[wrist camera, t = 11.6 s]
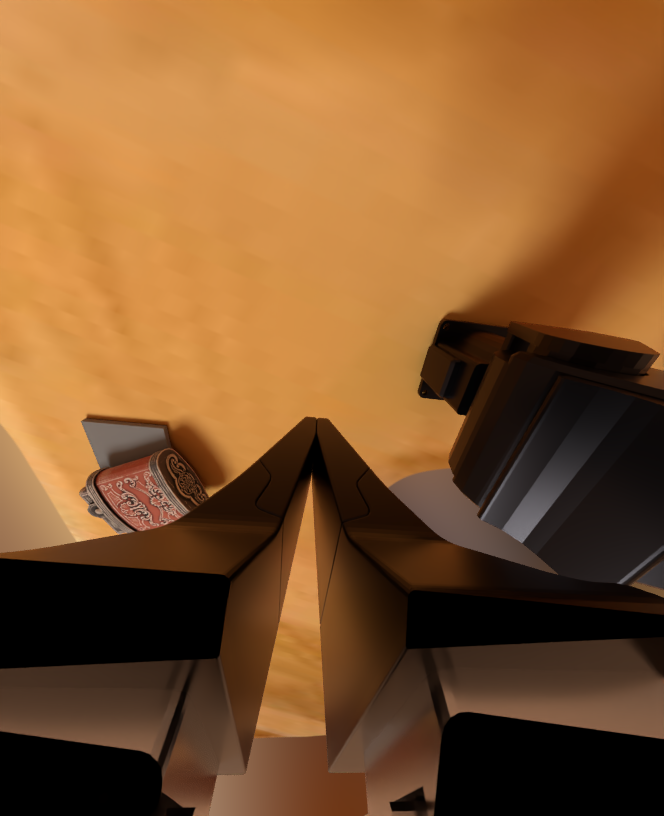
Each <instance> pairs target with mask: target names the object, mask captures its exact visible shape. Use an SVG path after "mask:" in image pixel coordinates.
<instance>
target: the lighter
mask: <svg viewBox="0 0 664 816" xmlns="http://www.w3.org/2000/svg"><path fill="white" fill-rule="evenodd" d="M79 495H80V496H81V497H82V498H83V499H84V500H85V501H86V502H87V503H88V504H89V506H88V507H89V508H88V512H89V513H90V514H91V515H93V516H95V517H99V518H103V519H104V520H105V521H106V522H107V523H108V524H109V525H110V526H111V527H112V528H113V529H114V530H115V531H116V532H117V533H118V534H122V533H131V532H137V531H143V530H148V529H153V528H158V527H161V526H164V525H167V524H169V523H171V522H173V521H175V520H177V519H179V518H181V517H182V516H184V515H185V514H187V513H188V512H190V511H191V510H192V509H194V508H195V507H197V506H198V505H199V504H201V503H202V502H204V501H205V500H207V499H208V498H209V497H208V495H207V492H206V490H205V488H204V486H203V485H202V483H201V481H200V480H199V478H198V477H197V475H196V473H195V472H194V471H193V470H192V468H191V467H190V466H189V465H188V463H187V462H186V461H185V460H184V459H183V458H182V457H181V456H180V455H179V454H178V453H177V452H176V451H175V450H173V449H170V448H168V449H164V450H160V451H157V452H155V453H154V454H153V455H151V456H148V457H144V458H141V459H138V460H135V461H131V462H128V463H125V464H122V465H119V466H115V467H107V468H103V469H99V470H97V471H95V472H93V473H92V474H91V475H90V476H89V477H88V479H87V481H86V486H85V487H84V488H82V489H81V490H80V492H79Z"/></svg>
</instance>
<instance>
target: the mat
mask: <svg viewBox="0 0 664 816" xmlns="http://www.w3.org/2000/svg"><path fill="white" fill-rule="evenodd" d="M81 423H82V425H83V427H84V430H85V432H86V435H87V437H88V440H89V442H90V444H91V447H92V449H93V452H94V454H95V457H96V459H97V461H98V464H99V466H100V469H103V468H107V467H115V466H119V465H122V464H125V463H128V462H131V461H135V460H138V459H141V458H144V457H148V456H151V455H153V454H154V453H155V452H157V451H160V450H164V449H168V448H170V449H172V448H171V444H170V439H169V435H168V430H167V426H165V425H154V424H142V423H131V422H120V421H109V420H98V419H84V420H82V421H81Z"/></svg>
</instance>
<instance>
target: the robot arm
mask: <svg viewBox="0 0 664 816" xmlns="http://www.w3.org/2000/svg"><path fill="white" fill-rule="evenodd" d="M445 324H448V327H447V328H446V329H443V327H444V325H445ZM659 355H660V353H658V352H656V351H655V350H653V349H651V348H649V347H648V346H646V345H644V344H643V343H641V342H639V341H635V340H630V339H624V338H619V337H614V336H609V335H604V334H599V333H594V332H588V331H581V330H574V329H566V328H559V327H552V326H544V325H537V324H529V323H522V322H514V321H511V322H510V324H509V327H502V326H494V325H487V324H479V323H472V322H464V321H457V320H449V319H444V320H442V321H441V322H440V323H439V325H438V328H437V331H436V334H435V337H434V341H433V344H432V345H431V346H430V347H429V349H428V352H427V355H426V358H425V361H424V365H423V368H422V371H421V374H420V376H421V377H422V379H421V382H420V385H419V388H418V394H419V396H420V397H422V398H429V399H438V400H445V401H446V402H447V403H448V404H449V405H450V406H451V407H452V408H453V409H454V410H455V411H456V412H457V413H458V414H459V415H465V416H466V418H465V420H464V422H463V424H462V427H461V429H460V431H459V434H458V436H457V438H456V440H455V443H454V445H453V447H452V449H451V452H450V455H449V465H450V467H451V470H452V473H453V474H454V477H453V482H454V483H455V485H456V486H457V487H458V488H459V490H460V491H461V492H462V493H463V494H464V495H465V496H466V497H467V498H468V499H470V501H471V502H473V503H474V504H475V505H476V506H478V507H479V508H480V510H479V512H478V514H477V516H478V517H479V518H480V519H481V520H483V521H485V522H487V523H489V524H491V525H493V526H495V527H497V528H499V529H501V530H503V531H505V532H506V533H507V534H509V535H510V536H512V537H513V538H515V539H516V540H518V541H520V542H521V543H522V544H524V545H525V546H526V547H527V548H529V549H530V550H531V551H532V552H534V553H535V554H536V555H537V556H538V557H539V558H541V559H542V560H543V561H544V562H545V563H546V564H548V565H549V566H550V567H551V568H552V569H553V570H554V571H556V572H557V573H558V574H559V575H557V574H553V573H549V572H545V571H541V570H538V569H535V568H532V567H528V566H525V565H521V564H518V563H515V562H511V561H508V560H505V559H501V558H498V557H495V556H491V555H488V554H484V553H481V552H478V551H474V550H471V549H468V548H464V547H461V546H458V545H455V544H453V543H450V542H448V541H447V540H445V539H443V538H441V537H440V536H439V535H437V534H436V533H435V532H434V531H433V530H431V529H430V528H429V527H428V526H427V525H426V524H425V523H424V522H423V521H422V520H421V519H419V518H418V517H417V516H416V515H415V514H414V513H413V512H412V511H411V510H410V509H409V508H408V507H407V506H406V505H405V504H404V503H403V502H401V501H400V500H399V499H398V498H397V497H396V496H395V495H394V494H393V493H392V492H391V491H390V490H389V489H388V488H387V487H386V486H385V485H384V483H383V482H382V481H381V480H380V479H379V478H378V477H377V476H376V475H375V473H374V472H373V471H372V470H371V469H370V468H369V466H368V465H367V464H366V463H365V462H364V461H363V459H362V458H361V457H360V456H359V455H358V453H357V452H356V451H355V450H354V449H353V448H352V446H351V445H350V444H349V443H348V442H347V440H346V439H345V438H344V437H343V436H342V435H341V433H340V432H339V431H338V430H337V429H336V428H335V426H334V425H333V424H332V423H331V422H330V420H329V419H326V418H318V419H316V418H315V417H305V418H304V419H303V420H302V421H300V422H299V423H298V424H297V425H296V426H295V427H294V428H293V429H292V430H290V431H289V432H288V433H287V434H286V435H285V436H284V437H283V438H282V439H280V440H279V441H278V442H277V443H276V444H275V445H274V446H273V447H272V448H270V449H269V450H268V451H267V452H266V453H265V454H264V455H263V456H262V457H260V458H259V460H257V461H256V462H255V463H254V464H253V465H251V466H250V467H249V468H248V469H247V470H246V471H244V472H243V473H242V474H241V475H240V476H238V477H237V478H236V479H234V480H233V481H232V482H230V483H229V484H228V485H226V486H225V487H224V488H222V489H221V490H219V491H218V492H216V493H215V494H214V495H212V496H211V497H209V498H208V499H207V500H205V501H204V502H202V503H201V504H199V505H198V506H197V507H195V508H194V509H192V510H191V511H190V512H188V513H187V514H185V515H184V516H182V517H181V518H179V519H177V520H175V521H173V522H171V523H169V524H167V525H164V526H161V527H158V528H153V529H148V530H143V531H137V532H131V533H126V534H120V535H115V536H109V537H103V538H98V539H92V540H87V541H81V542H75V543H70V544H64V545H59V546H53V547H46V548H40V549H33V550H25V551H16V552H7V553H0V816H208V815H209V811H210V806H211V801H212V797H213V792H214V788H215V783H216V778H217V775H243V774H245V773H246V770H247V764H248V760H249V756H250V751H251V747H252V742H253V738H254V733H255V729H256V724H257V720H258V715H259V711H260V706H261V702H262V697H263V693H264V688H265V684H266V679H267V675H268V670H269V666H270V661H271V657H272V652H273V648H274V643H275V639H276V634H277V630H278V623H279V620H280V616H281V611H282V607H283V602H284V598H285V593H286V589H287V584H288V580H289V575H290V571H291V566H292V562H293V557H294V553H295V548H296V544H297V539H298V535H299V530H300V526H301V521H302V517H303V512H304V508H305V503H306V499H307V494H308V490H309V485H310V481H311V474H312V492H313V510H314V527H315V545H316V563H317V580H318V598H319V615H320V624H321V625H320V634H321V651H322V669H323V687H324V704H325V722H326V739H327V755H328V756H327V757H328V771H329V773H358V772H365V777H366V789H367V801H368V814H367V815H365V816H664V598H663V597H660V596H658V595H655V594H653V593H649V592H646V591H643V590H641V589H637V588H635V587H632V586H631V585H632V584H633V583H635V582H636V583H639V584H644V585H647V586H650V587H654V588H658V589H661V590H664V371H662V370H658V369H654V368H650V367H651V366H652V364H653V363H654V362H655V360H656V359H657V358H658V356H659ZM424 390H426V392H425V393H422V392H423V391H424Z"/></svg>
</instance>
